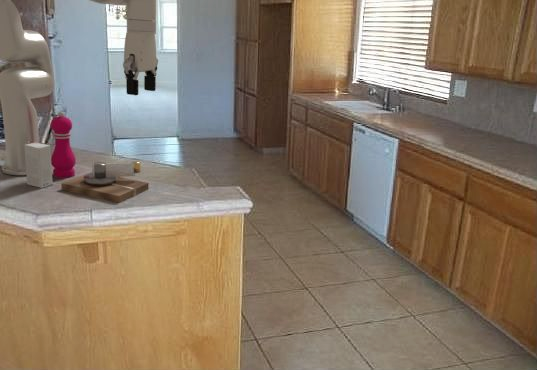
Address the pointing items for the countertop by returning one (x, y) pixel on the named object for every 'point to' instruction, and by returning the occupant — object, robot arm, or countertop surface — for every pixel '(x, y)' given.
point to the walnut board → (107, 188)
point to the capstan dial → (110, 172)
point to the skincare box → (38, 165)
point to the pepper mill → (62, 147)
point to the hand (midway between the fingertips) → (141, 92)
